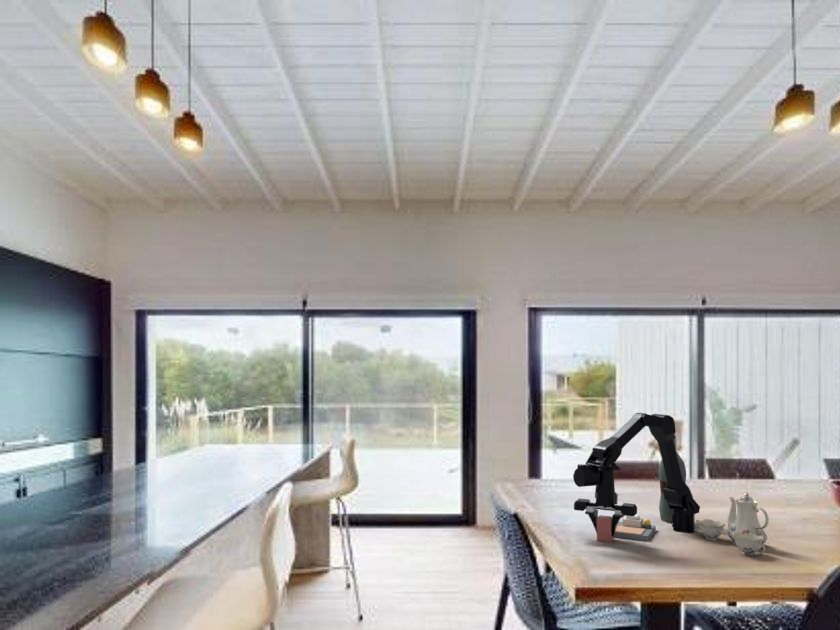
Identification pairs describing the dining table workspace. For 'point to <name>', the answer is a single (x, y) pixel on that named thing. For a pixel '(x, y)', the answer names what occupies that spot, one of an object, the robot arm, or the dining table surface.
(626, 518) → the block
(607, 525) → the red rectangular block
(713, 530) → the chinaware
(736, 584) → the dining table surface
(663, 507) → the bottle
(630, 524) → the panel
